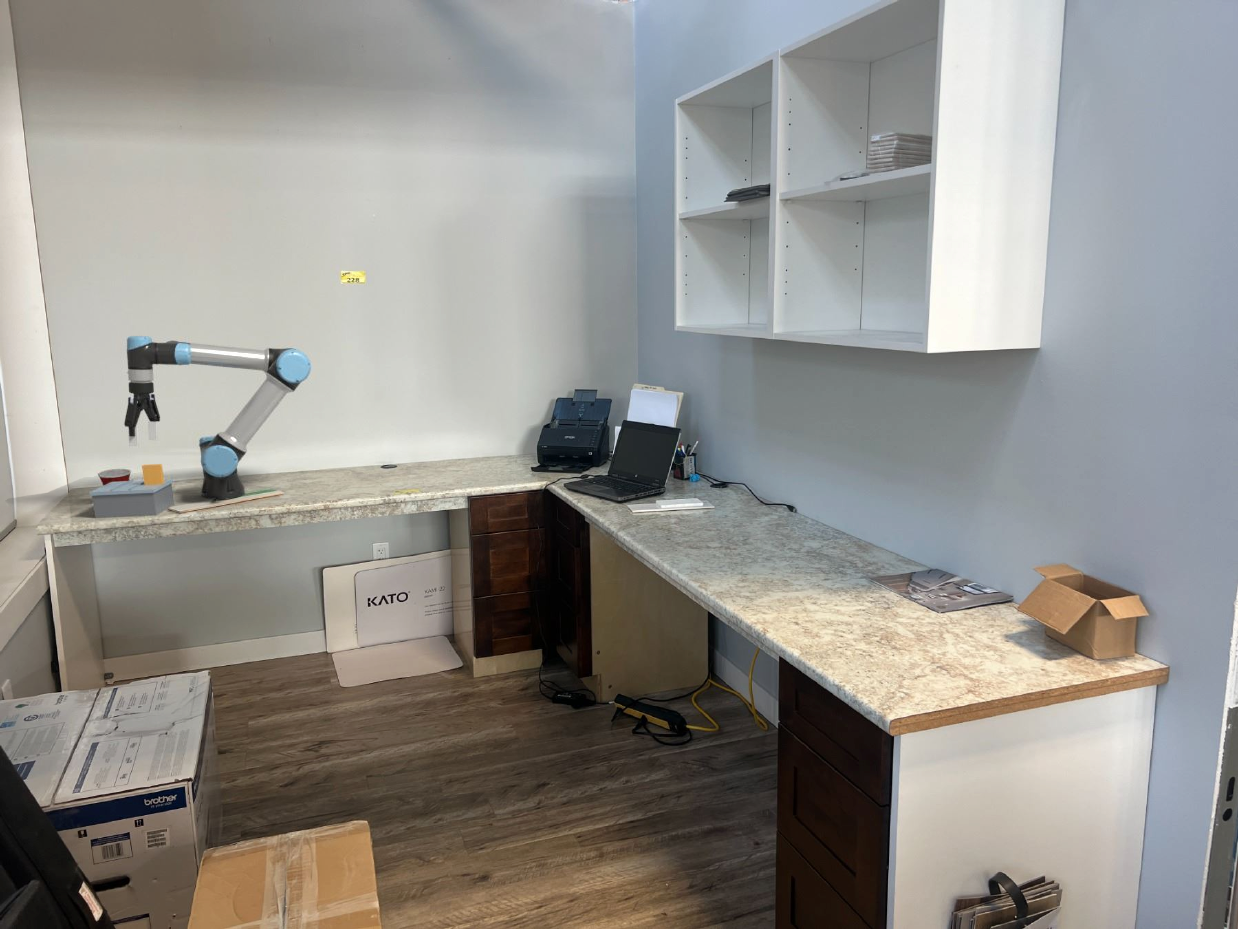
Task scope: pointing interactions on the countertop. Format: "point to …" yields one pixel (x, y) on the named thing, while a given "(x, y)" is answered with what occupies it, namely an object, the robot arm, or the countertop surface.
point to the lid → (137, 483)
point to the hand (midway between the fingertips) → (143, 442)
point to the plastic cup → (114, 475)
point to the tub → (133, 503)
